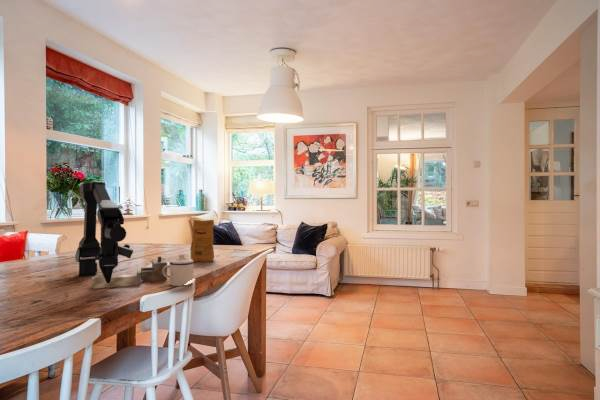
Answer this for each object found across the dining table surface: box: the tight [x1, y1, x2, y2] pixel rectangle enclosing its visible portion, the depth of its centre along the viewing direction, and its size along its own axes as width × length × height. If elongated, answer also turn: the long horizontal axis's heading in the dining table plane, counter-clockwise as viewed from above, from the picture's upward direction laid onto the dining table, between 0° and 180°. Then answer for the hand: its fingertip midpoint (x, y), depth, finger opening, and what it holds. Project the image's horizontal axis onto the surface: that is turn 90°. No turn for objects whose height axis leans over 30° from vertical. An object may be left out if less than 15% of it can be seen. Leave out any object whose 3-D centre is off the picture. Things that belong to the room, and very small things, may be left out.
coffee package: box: [190, 219, 215, 263], centre depth 208 cm, size 10×12×22 cm
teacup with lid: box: [163, 253, 195, 287], centre depth 153 cm, size 12×9×12 cm
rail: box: [91, 270, 142, 289], centre depth 149 cm, size 17×4×5 cm, turn 116°
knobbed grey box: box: [140, 255, 168, 283], centre depth 162 cm, size 9×9×9 cm
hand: (108, 280), depth 148 cm, fingers open, 9 cm apart
